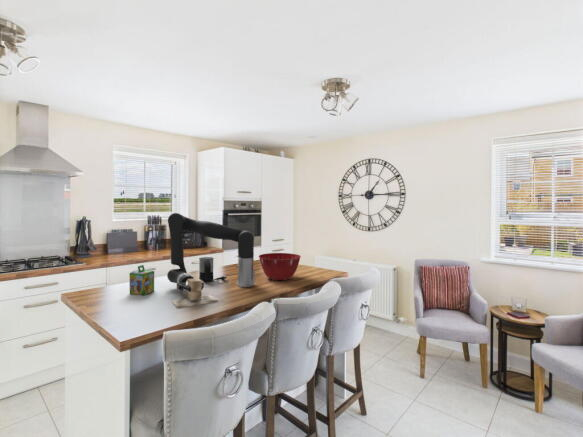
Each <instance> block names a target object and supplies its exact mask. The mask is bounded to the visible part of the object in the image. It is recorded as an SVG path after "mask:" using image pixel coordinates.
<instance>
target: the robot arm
mask: <svg viewBox="0 0 583 437" xmlns="http://www.w3.org/2000/svg"><path fill="white" fill-rule="evenodd" d="M167 223H168V229H169V237H170V264H171V265H173V266H178V268H172V269H170V270H169V271H168V272H167V280H169V282H170V283H174V284H176V289H177V290H179V291H187V292H188V291H189V292H191V287H190V286H188V279H193V278H194V276H192V275H190V274H189V273H188V272H187V269H186V266H185V261H184V260H185V258H184V255H185V254H184V245H183V239H182V236H183V235H182V233H183V232H182V231H187V232H192V233H195V234H198V235H201V236H203V237H207V238H210V239H215V240H216V239H217V240H225V241H233V242H236V243H237V254H238V256H237V263H238V264H237V287H240V288H250V287H253V286H255V280H256V279H255V277H256V276H255V273H256V272H255V269H254V263H255V262H254V257H255V254H254V253H255V252H254V245H255V241H254V240H255V235H254V234H253V232H252V231H250V230H244V229H237V228H233V227H229V226H227V225H224V224H220V223H216V222H212V221H207V220H196V219H192V218H189V217H187V216H184V215H182V214H181V213H179V212H173V213H170V214H169V216H168V218H167ZM204 288H205V282H203V280H202V281H201V291H203V289H204Z"/></svg>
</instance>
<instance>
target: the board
mask: <svg viewBox="0 0 583 437" xmlns="http://www.w3.org/2000/svg"><path fill="white" fill-rule="evenodd" d="M171 302H172V305H174V307H175V308H177V309H180V308H188V307H192V306H198V305H205V304H210V303H216V302H219V299H218V298H217V297H216V296H214V295H212V294H208V295H203V296H202V295H201V301H195V302H190V301H189V300H188V299H187V298H183V299H177V300H176V299H175V300H172V301H171Z"/></svg>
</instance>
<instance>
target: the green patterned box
mask: <svg viewBox="0 0 583 437" xmlns="http://www.w3.org/2000/svg"><path fill="white" fill-rule="evenodd" d="M144 266H145V265H144V264H141V265H138V266H137V269H138V270H135V271H132V272H129V294H130V295H136V296H137V295H139V296H145V295H148V294H150V293H153V292H155V271H154V270H149V269H145V267H144Z"/></svg>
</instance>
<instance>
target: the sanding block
mask: <svg viewBox="0 0 583 437" xmlns="http://www.w3.org/2000/svg"><path fill="white" fill-rule="evenodd" d="M201 281H202V280H200V279H199V277H193V279H188V286H190V287H191V292H189V291H187V296H186V297H187V298H186V299H188V300H189V301H190V302H195V301H201V296H202V290H201Z"/></svg>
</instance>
